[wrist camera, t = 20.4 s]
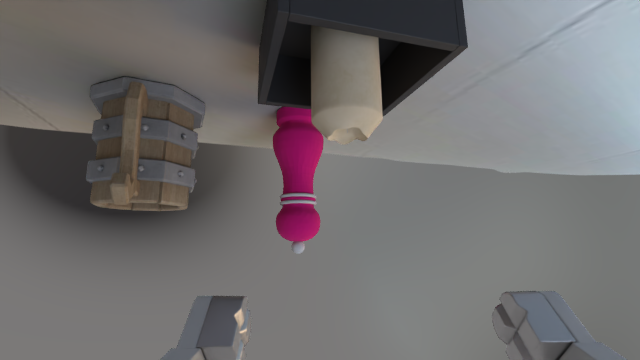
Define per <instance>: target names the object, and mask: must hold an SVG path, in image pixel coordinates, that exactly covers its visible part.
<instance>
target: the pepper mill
mask: <svg viewBox="0 0 640 360" xmlns="http://www.w3.org/2000/svg"><path fill="white" fill-rule="evenodd" d="M277 125H278V126H279V127H280V128H279V129H278V130H277V131H276V133H275V134H274V136H273V148H274V152H275V155H276V157H277V159H278V162H279V165H280V168H281V170H282V175H283V183H284V188H283V194H282V195H281V196H280V198H281V202H280V205H282V206H283V208H282V209H281V211H280V212H279V213H278V215H277V218H276V226H277V230H278V232H279V234H280V235H281V236H282V237H283V238H285V239H287V240H289V241H294V242H293V244H292V250H293V252H295V253H297V254H299V253H302V252H303V251H304V249H305V245H304V243H303V242H302V241H306V240H309V239H311V238H313V237H314V236H315V235H316V234H317V233H318V231H319V227H320V217H319V214H318V213H317V211H316V210H315V209H314V205H316V202H315V198H316V195H314V194H313V177H314V172H315V169H316V166H317V164H318V161H319V159H320V156H321V153H322V150H323V136H322V134H321V133H320V131H319V130H318V129H317V128H316V127H315V126H314V125H313V124H312V121H311V109H302V108H293V107H282V108H280V109H279V110H278V111H277Z"/></svg>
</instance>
